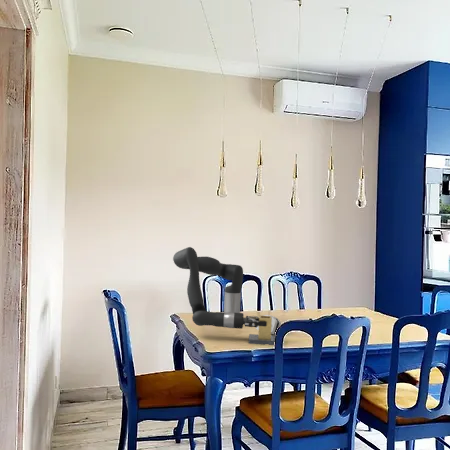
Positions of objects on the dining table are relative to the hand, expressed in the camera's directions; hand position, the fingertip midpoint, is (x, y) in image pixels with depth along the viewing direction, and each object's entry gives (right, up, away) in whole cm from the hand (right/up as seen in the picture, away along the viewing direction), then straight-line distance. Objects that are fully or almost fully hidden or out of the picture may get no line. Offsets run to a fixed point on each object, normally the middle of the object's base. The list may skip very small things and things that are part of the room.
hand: (266, 322), depth 231 cm
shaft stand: (-1, -9, 0) cm, 10 cm away
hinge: (+3, -10, +22) cm, 24 cm away
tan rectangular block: (-1, -7, 0) cm, 8 cm away
